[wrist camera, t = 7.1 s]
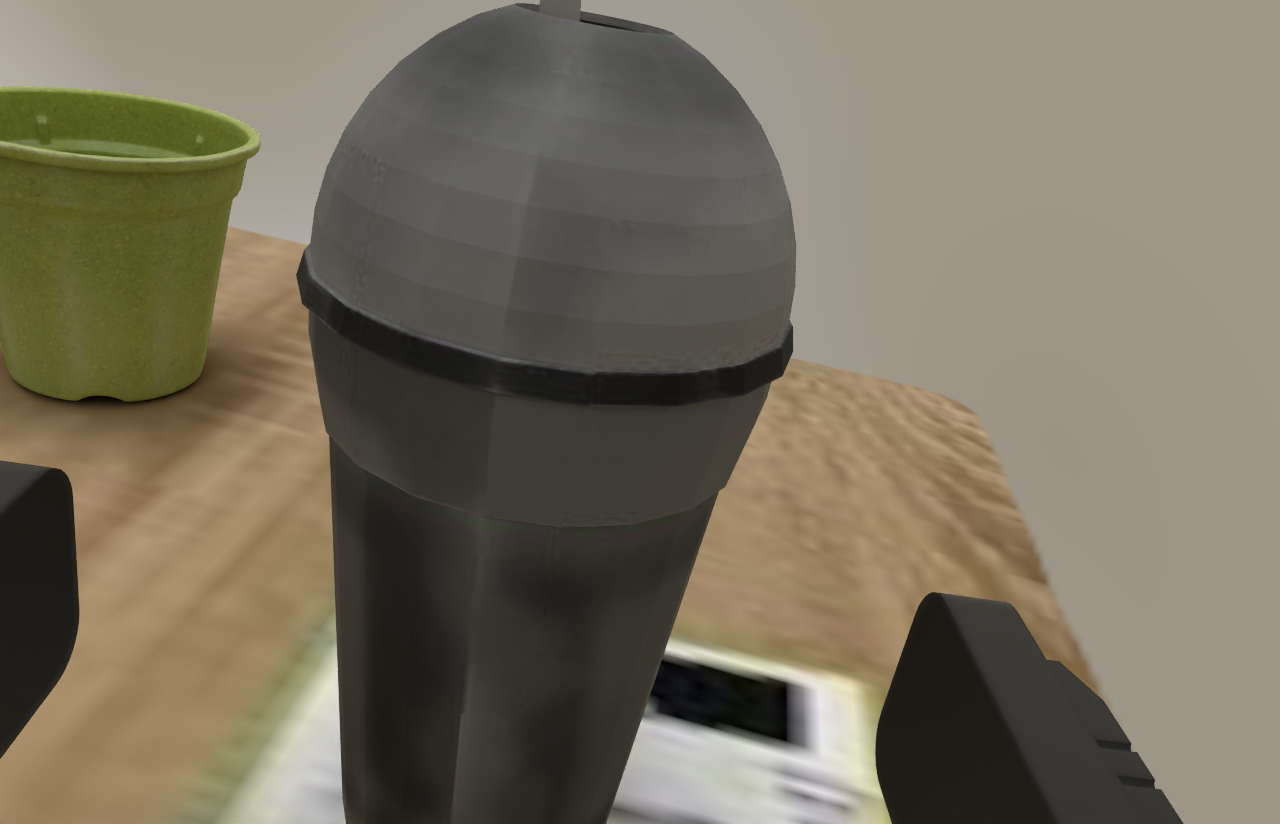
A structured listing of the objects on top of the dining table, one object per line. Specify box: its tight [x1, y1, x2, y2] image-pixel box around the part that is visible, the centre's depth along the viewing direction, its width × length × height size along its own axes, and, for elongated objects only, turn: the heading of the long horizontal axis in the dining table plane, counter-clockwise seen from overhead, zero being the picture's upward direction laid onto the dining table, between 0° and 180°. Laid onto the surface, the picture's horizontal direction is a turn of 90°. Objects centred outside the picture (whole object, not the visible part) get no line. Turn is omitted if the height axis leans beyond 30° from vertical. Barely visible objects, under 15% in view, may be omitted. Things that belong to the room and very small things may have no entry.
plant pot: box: [0, 87, 260, 402], centre depth 34 cm, size 9×9×9 cm
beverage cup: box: [296, 0, 796, 824], centre depth 16 cm, size 7×7×20 cm
